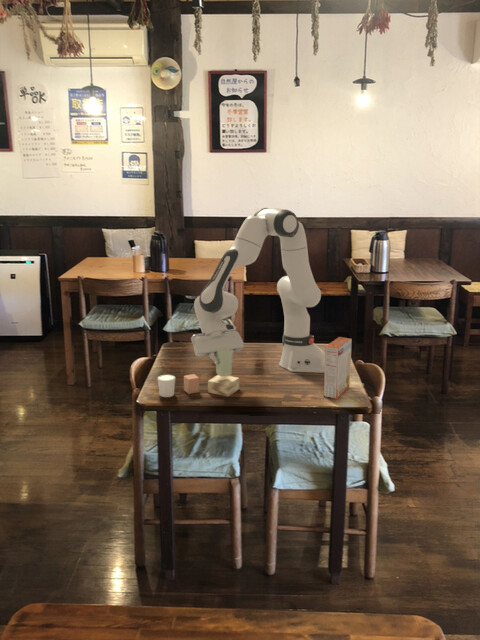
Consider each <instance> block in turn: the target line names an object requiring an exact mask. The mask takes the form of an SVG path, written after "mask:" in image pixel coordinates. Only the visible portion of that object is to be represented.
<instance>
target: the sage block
mask: <svg viewBox="0 0 480 640" xmlns="http://www.w3.org/2000/svg"><path fill="white" fill-rule="evenodd" d="M215 357H216V358H217V359H218V358H219V361H220V363H219V364H216V365H215V374H217V375H219V376H221V377H222V376H232V372H233V371H232V368H233V367H232V366H233V365H232V364H233V362H232V357H233V356H232V350H230V349H228V348H220V349H217V352H216V354H215Z"/></svg>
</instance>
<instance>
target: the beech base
mask: <svg viewBox="0 0 480 640" xmlns="http://www.w3.org/2000/svg"><path fill="white" fill-rule="evenodd" d="M238 390H240V378H239V377H237V376H232V375H228V376H222V377H221V376H219V375H218V374H217V375H215V376H213V377H212V378H210V379H208V381H207V393H208V394H209V393H210V394H215V395H218V396H219V395H220V396H223V397H230V396H232V395H233V394H234V393H236V392H237V391H238Z"/></svg>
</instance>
